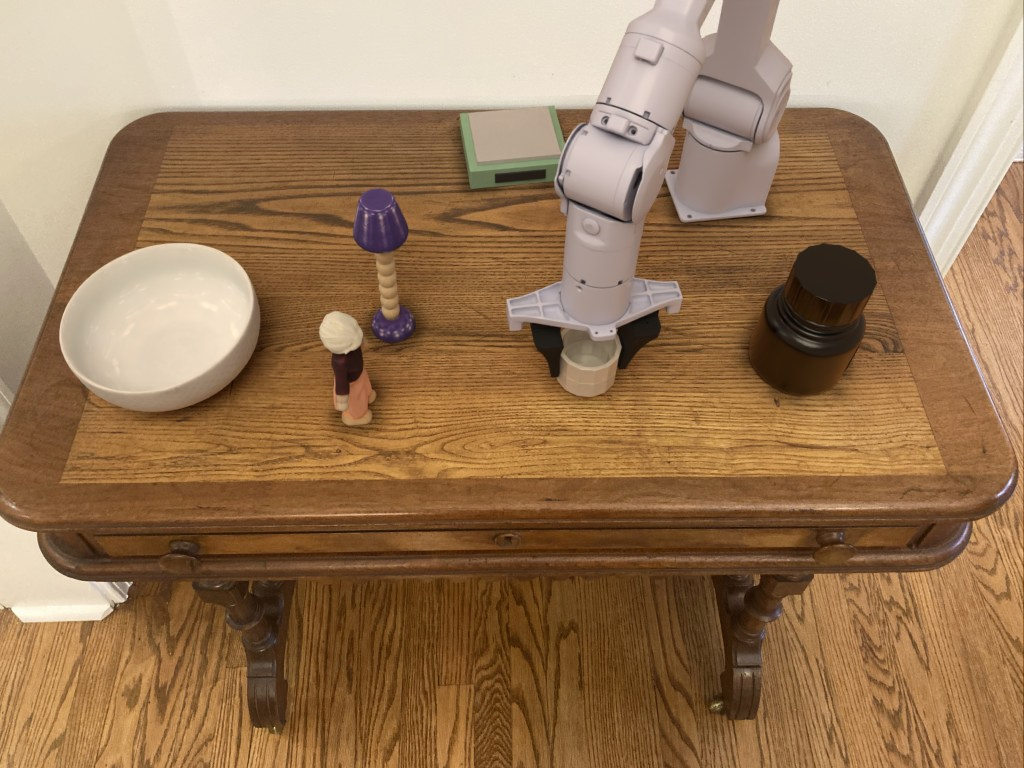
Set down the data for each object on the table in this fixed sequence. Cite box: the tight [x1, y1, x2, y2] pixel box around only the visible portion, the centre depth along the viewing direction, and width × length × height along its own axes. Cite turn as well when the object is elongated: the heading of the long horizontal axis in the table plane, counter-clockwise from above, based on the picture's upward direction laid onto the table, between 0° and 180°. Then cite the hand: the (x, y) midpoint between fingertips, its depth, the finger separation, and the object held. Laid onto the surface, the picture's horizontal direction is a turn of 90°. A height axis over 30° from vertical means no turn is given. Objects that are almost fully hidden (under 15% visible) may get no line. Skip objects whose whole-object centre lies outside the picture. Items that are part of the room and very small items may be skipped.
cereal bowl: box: [58, 242, 262, 413], centre depth 77 cm, size 17×17×7 cm
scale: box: [459, 105, 566, 190], centre depth 96 cm, size 11×10×3 cm
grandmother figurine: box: [318, 310, 377, 427], centre depth 72 cm, size 8×4×13 cm, turn 5°
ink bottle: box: [748, 242, 878, 397], centre depth 76 cm, size 10×9×12 cm
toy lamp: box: [352, 187, 417, 344], centre depth 76 cm, size 5×5×17 cm
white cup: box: [555, 328, 622, 398], centre depth 78 cm, size 6×6×5 cm
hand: (586, 364), depth 78 cm, fingers closed on white cup, 5 cm apart
